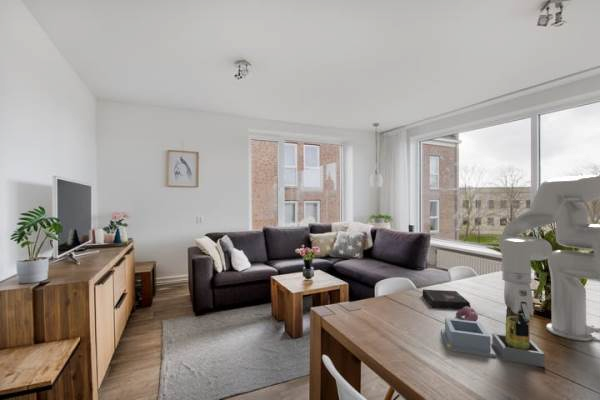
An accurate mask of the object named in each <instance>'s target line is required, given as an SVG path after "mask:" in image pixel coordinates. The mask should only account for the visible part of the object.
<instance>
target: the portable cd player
mask: <svg viewBox="0 0 600 400" xmlns="http://www.w3.org/2000/svg"><path fill="white" fill-rule="evenodd" d="M422 297H423V299H424V300H425V301H426V302H427V304H428V305H429V306H430V307H431V309H447V310H448V309H449V310H461V309H462V308H463V307H465V306H467V307H471V303H470V301H468V300H467V299H466V298H465V297H464V296H463V295H461V294H460V293H459V292H458V291H456V290H445V289H444V290H443V289H422ZM471 308H472V307H471Z"/></svg>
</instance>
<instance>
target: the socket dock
mask: <svg viewBox="0 0 600 400" xmlns="http://www.w3.org/2000/svg"><path fill="white" fill-rule="evenodd" d="M440 334H441V335H442V338H443V340H444V343H445V346H446V349H447V351H451V352H456V353H457V352H458V353H465V354H472V355H477V356H483V357H489V358H497V354H496V353H495V351H494V349H493V348H492V345H491V335H490V334H489V333H488V331H487V330H486V328H485V327H484V326H483V324H482V323H481V322H480V321H466V320H465V319H458V318H457V319H456V318H448V317H445V318H444V329H440Z"/></svg>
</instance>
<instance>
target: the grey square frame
mask: <svg viewBox="0 0 600 400" xmlns="http://www.w3.org/2000/svg"><path fill="white" fill-rule="evenodd" d="M491 335H492V340H491V341H492V346H493V347H494V349H495V350H496V352H497V353H498V355H499V356H500V357H501V359H502V361H503V362H504V361H505V362H510V363H516V364H522V365H530V366H536V367H542V368H546V354H545V353H544V352H543V351H542V349H540V348H539V346H537V344H535V342H534V341H533V340H532V339H531V338H529V350H523V349H516V348H509V347H506V334H502V333H495V332H492V334H491Z"/></svg>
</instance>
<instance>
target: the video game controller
mask: <svg viewBox="0 0 600 400" xmlns="http://www.w3.org/2000/svg"><path fill="white" fill-rule="evenodd" d="M455 317H456V318H461V317H463V318H464V319H463V320H466V321H475V322H478V319H479V316H478V314H477V311H476V310H475V309H474V308H473V307H467V306H465V307H463V308H462V309H458V311H456V313H455Z"/></svg>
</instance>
